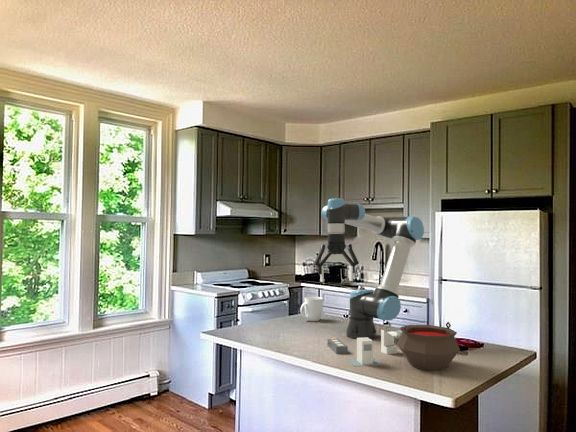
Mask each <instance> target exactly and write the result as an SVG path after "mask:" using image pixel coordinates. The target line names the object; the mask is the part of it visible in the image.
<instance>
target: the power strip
mask: <svg viewBox="0 0 576 432" xmlns="http://www.w3.org/2000/svg"><path fill="white" fill-rule="evenodd" d="M326 343H327V347H328V348H329V349H331V351H333V352H334V353H335V354H336V355H338V354H339V355H341V354H342V355H343V354H348V353H349V350H348V349H349V346H348V345H347V344H345V343H344V342H343V341H341V340H340V339H339V338H336V337H331V338H327V342H326Z"/></svg>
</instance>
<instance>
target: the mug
mask: <svg viewBox="0 0 576 432" xmlns="http://www.w3.org/2000/svg"><path fill="white" fill-rule="evenodd" d="M303 299H304V302H303V303H302V304H301V306H300V311H299V312H300V314H301V316H302V317H303V318H306V319H307V321H309V322H319V321H320V319H321V318H322V315H323V311H324V310H323V308H324V298H323V297H321V296H305V297H304V298H303ZM303 309H304V311H303Z"/></svg>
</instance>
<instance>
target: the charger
mask: <svg viewBox="0 0 576 432" xmlns="http://www.w3.org/2000/svg"><path fill="white" fill-rule="evenodd" d="M373 358H374V340H373V339H369V338H368V337H365V338H357V339H356V359H357V361H358V362H360V363H361V364H362V365H363V364H373Z"/></svg>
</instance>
